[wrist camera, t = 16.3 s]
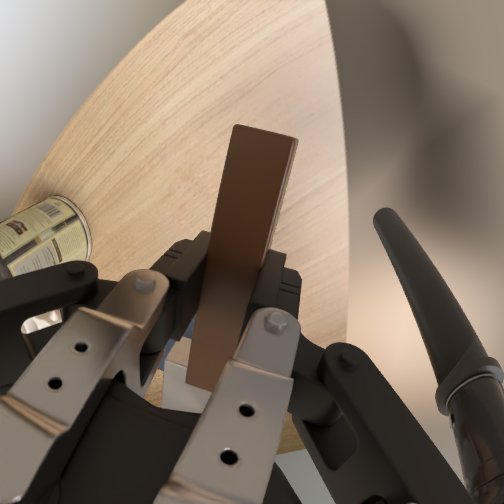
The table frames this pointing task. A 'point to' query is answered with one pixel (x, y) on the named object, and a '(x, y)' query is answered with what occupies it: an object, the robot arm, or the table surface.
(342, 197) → the table surface
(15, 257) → the coffee can
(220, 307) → the brown and grey bar
